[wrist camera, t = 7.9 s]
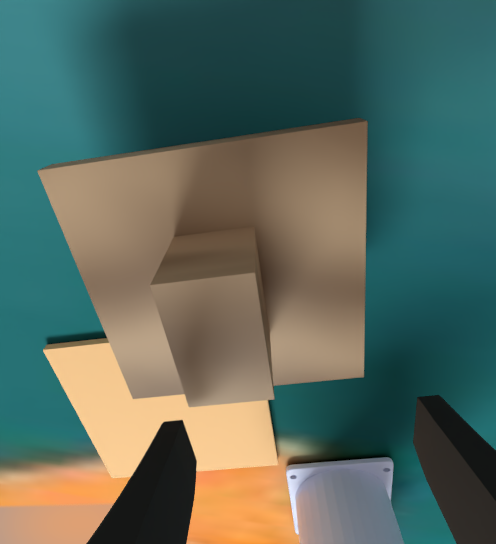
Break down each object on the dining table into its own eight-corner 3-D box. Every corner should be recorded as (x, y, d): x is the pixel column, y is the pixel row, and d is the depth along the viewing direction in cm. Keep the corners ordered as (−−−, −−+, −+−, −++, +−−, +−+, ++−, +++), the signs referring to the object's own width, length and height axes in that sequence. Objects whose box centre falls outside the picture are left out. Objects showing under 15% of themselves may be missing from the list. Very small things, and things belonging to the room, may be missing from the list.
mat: (277, 458, 27) (278, 465, 27) (114, 472, 28) (111, 478, 28) (254, 321, 21) (254, 326, 21) (47, 344, 22) (42, 350, 22)
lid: (358, 361, 17) (389, 445, 13) (138, 383, 18) (107, 468, 14) (359, 118, 12) (410, 137, 8) (51, 164, 13) (-36, 202, 9)
